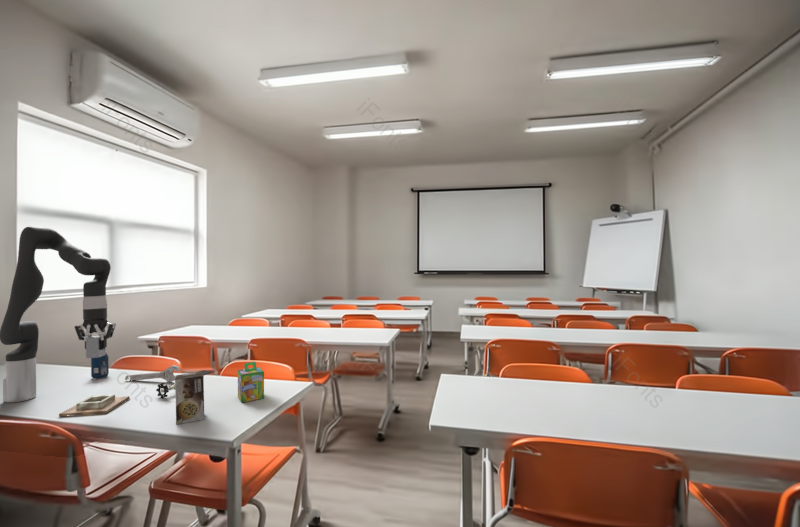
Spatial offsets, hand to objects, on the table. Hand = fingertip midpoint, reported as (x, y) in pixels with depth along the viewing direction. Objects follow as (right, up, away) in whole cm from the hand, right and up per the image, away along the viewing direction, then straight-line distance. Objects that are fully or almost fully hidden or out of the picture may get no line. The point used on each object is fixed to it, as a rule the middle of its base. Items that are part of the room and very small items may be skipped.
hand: (96, 349), depth 150 cm
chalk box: (+59, -22, +8) cm, 64 cm away
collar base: (+1, -23, -1) cm, 23 cm away
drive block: (0, -3, 0) cm, 3 cm away
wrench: (+1, -24, +33) cm, 40 cm away
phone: (+17, -24, +42) cm, 51 cm away
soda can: (-31, -24, +41) cm, 57 cm away
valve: (+23, -23, +14) cm, 36 cm away
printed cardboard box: (+46, -22, -14) cm, 53 cm away
